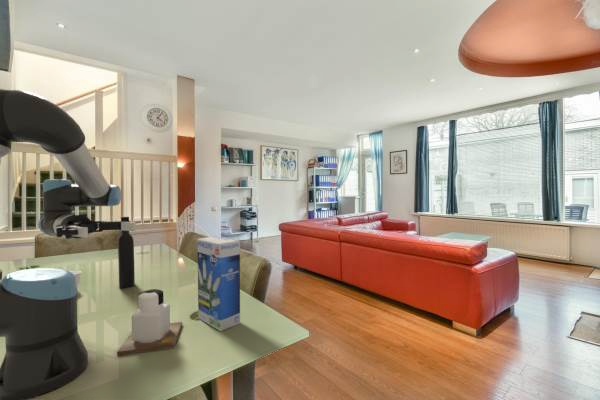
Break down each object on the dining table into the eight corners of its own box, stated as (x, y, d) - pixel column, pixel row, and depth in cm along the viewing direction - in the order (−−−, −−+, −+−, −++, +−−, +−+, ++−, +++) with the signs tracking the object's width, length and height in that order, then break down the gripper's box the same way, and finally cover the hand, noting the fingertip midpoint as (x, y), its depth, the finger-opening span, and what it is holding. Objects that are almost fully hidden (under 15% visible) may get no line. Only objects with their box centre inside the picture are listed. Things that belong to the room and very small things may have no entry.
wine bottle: (134, 282, 125) (132, 216, 124) (135, 286, 120) (133, 217, 119) (119, 285, 121) (117, 216, 120) (119, 288, 117) (117, 217, 116)
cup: (60, 297, 108) (59, 276, 108) (58, 290, 115) (57, 271, 115) (83, 292, 113) (82, 272, 113) (79, 286, 120) (79, 268, 120)
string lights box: (197, 318, 89) (196, 238, 88) (218, 310, 95) (217, 235, 94) (220, 332, 80) (219, 243, 79) (242, 322, 86) (240, 240, 85)
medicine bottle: (145, 328, 80) (143, 287, 79) (170, 327, 80) (169, 286, 80) (131, 342, 73) (130, 296, 72) (160, 340, 73) (158, 295, 73)
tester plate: (173, 348, 72) (173, 342, 72) (117, 355, 69) (116, 349, 69) (182, 324, 85) (181, 320, 85) (134, 330, 81) (134, 325, 81)
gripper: (113, 232, 102) (151, 236, 93) (23, 244, 80) (61, 250, 70) (113, 212, 102) (151, 213, 93) (22, 218, 80) (60, 220, 70)
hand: (112, 229), depth 81 cm, fingers open, 13 cm apart
